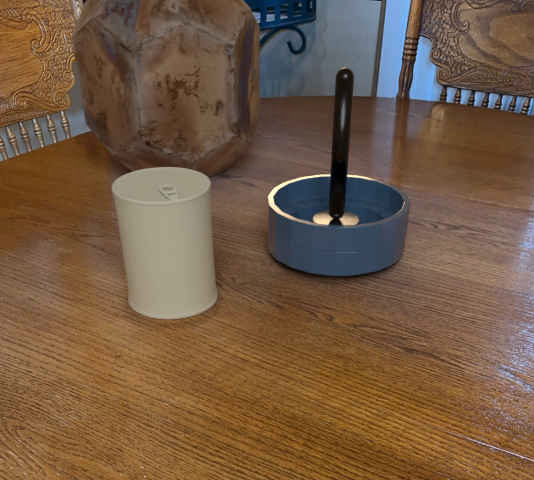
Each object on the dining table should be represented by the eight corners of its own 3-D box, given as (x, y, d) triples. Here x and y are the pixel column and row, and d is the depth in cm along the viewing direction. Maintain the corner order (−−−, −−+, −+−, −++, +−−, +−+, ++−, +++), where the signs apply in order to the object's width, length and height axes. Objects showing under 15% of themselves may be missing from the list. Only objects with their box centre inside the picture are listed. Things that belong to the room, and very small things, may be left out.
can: (142, 328, 67) (125, 203, 59) (117, 287, 74) (98, 169, 66) (231, 308, 70) (226, 187, 62) (200, 270, 77) (191, 156, 68)
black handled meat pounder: (353, 234, 82) (367, 61, 70) (360, 254, 78) (376, 73, 66) (309, 235, 81) (316, 62, 69) (313, 255, 78) (321, 74, 66)
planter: (274, 148, 108) (274, -44, 92) (229, 206, 90) (220, -18, 74) (139, 137, 112) (118, -48, 96) (71, 191, 94) (31, -24, 78)
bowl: (389, 223, 86) (395, 172, 82) (415, 280, 75) (423, 225, 71) (264, 226, 86) (264, 175, 81) (271, 284, 74) (271, 229, 70)
